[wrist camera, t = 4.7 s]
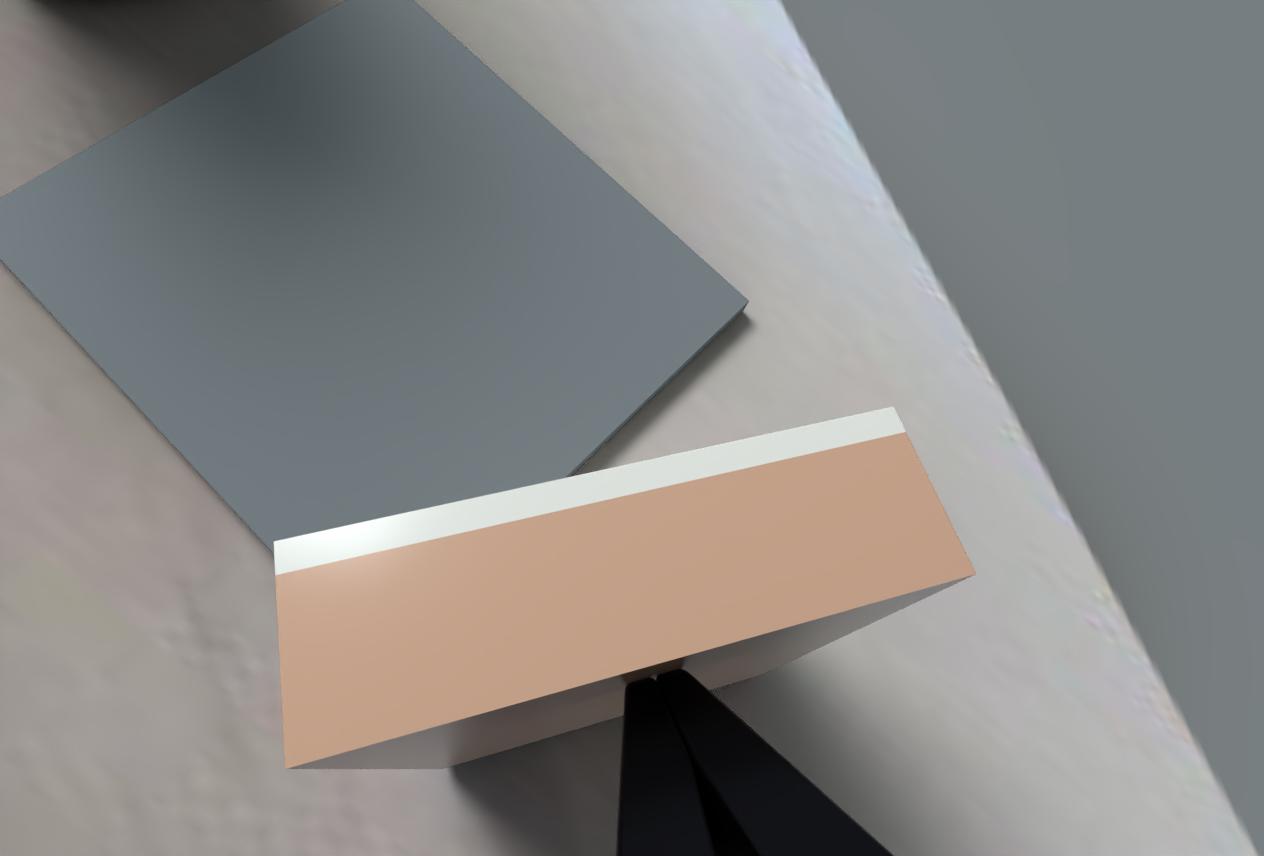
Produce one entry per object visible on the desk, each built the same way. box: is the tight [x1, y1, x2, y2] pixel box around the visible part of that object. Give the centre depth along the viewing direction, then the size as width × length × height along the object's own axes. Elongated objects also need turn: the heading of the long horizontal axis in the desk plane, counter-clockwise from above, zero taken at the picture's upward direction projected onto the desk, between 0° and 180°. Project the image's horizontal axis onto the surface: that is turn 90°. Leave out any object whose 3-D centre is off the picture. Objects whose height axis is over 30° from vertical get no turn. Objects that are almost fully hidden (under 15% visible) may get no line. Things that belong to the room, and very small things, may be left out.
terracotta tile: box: [274, 407, 976, 769], centre depth 12 cm, size 2×8×10 cm, turn 105°
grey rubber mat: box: [0, 0, 749, 553], centre depth 19 cm, size 16×14×1 cm
